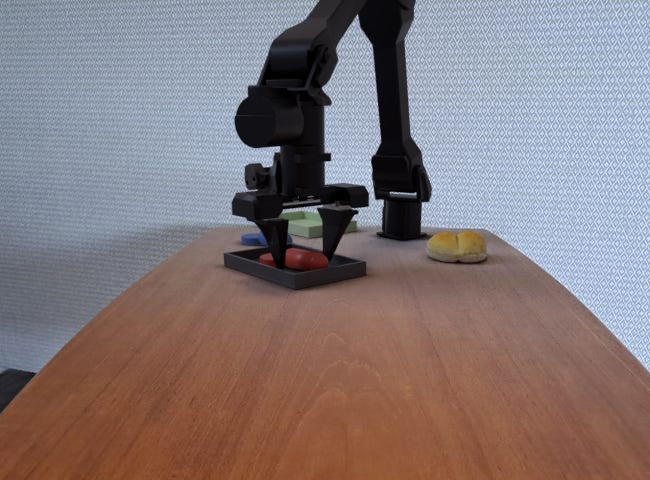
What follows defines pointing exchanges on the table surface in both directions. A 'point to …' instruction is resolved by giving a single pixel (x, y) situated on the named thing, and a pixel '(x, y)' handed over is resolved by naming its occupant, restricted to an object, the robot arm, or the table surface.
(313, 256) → the red elongated piece
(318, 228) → the back tray
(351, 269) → the front tray
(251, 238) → the blue elongated piece
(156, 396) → the table surface
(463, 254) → the bread roll
